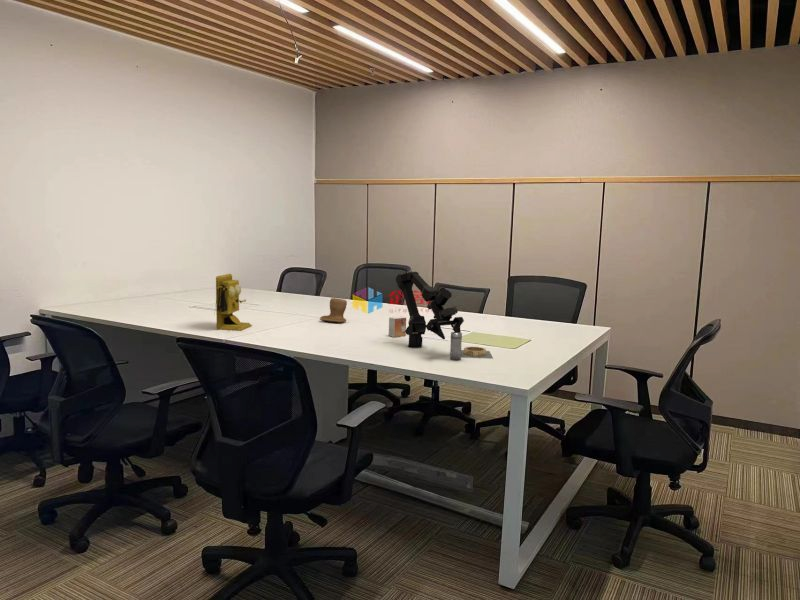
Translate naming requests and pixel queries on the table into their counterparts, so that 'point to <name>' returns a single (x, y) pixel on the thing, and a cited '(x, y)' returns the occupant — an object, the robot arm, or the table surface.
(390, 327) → the small box
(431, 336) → the table surface
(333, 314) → the brown suede boot shape
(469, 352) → the ring collar
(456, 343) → the grey tall cylinder
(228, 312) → the vintage telephone
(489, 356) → the mat
